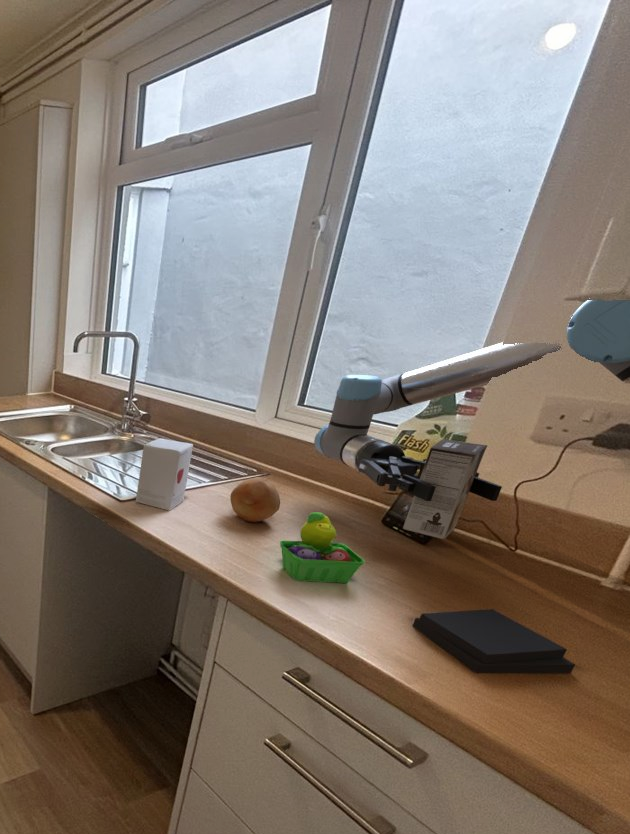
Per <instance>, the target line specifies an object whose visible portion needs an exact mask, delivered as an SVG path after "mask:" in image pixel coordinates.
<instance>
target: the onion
mask: <svg viewBox="0 0 630 834" xmlns="http://www.w3.org/2000/svg"><path fill="white" fill-rule="evenodd" d="M229 497H230V504H231V508H232V511H233V512H234V513H235V514H236V516H238V517H239V518H241V519H243V520H245V521H246V522H250V523H257V522H258V523H259V522H261V521H265V520H267V519H269V518H271V517H272V516H273V515H275V514H276V512H278V511H279V509H280V506H281V498H280V494H279V491H278V489H277V488H276V486H275V485H274V483H272V482H271V481H269V480H268V479H266V478H265V477H262V476H261V477H259V476H258V477H252V478H248V479H246V480H244V481H242V482H241V483H239V484H238V485H237V486H236V487H235V488H233V489H232V491H231V493H230V496H229Z"/></svg>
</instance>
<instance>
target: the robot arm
mask: <svg viewBox="0 0 630 834" xmlns="http://www.w3.org/2000/svg"><path fill="white" fill-rule="evenodd" d="M572 315H573V316H572ZM572 315H571V316H572V317H571V316H570V317H571V319H570V321H569V324H568V327H567V340H568V343H569V346H570V348H571V349H573V350H574V351H575V352H576V353H577V354H579V355H580V356H582V357H585V358H586V359H588V360H591V361H594V363H599V364H600V365H602V367H604V368H605V369H606V370H607V371H608V372H610V373H611V374H612V375H613V376H615V377H616V378H617V379H619V380H620V381H621V382H622V383H623V384H630V300H612V301H604V300H601V299H598V300H588V299H587V300H585V302H583V303H582V304H581V305H580V306H579V307H578V308H577V309H576V310H575V311H574V313H573V314H572ZM503 342H504V341H502V342H498V343H495V344H492V345H489V346H486V347H483V348H479V349H477V350H473V351H470V352H467V353H463V354H460V355H457V356H454V357H451V358H448V359H445V360H441V361H438V362H435V363H432V364H429V365H425V366H421V367H420V368H415V369H413V370H410V371H406V372H403V373H400V374H397V375H392V376H389V377H387V378H384V379H382V378H381V377H380V376H376V375H370V374H346V375H344V376H343V377H342V378H341V380H340V383H339V386H338V389H337V390H336V396H335V400H334V405H333V408H332V412H331V416H330V420H329V423H328V424H326V425H324V426H323V427H321V428H320V429H319V430H318V432H317V433H316V434H315V437H314V441H313V443H314V444H313V445H314V447H315V449H316V451H318V453H320V454H321V455H324V456H325V457H327V459H330V460H334V461H336V462H339V463H341V464H343V465H345V466H347V467H350V468H352V469H354V470H356V472H357V473H362V474H364V475H365V476H366V477H367V478H369V479H370V480H371V481H372V482H373V483H374V484H376V486H379V487H385V486H386V485H388V488H387V490H388V491H390V492H396V491H397V488H398V489H399V490H401V491H404V492H405V493H408V494H410V495H412V496H413V497H414V496H416V497H419V498H421V499H423V500H425V501H431V499H432V497H433V494H434V491H435V488H436V487H435V486H433V485H431V484H428V483H426V482H423V481H421V480H420V477H421V474H422V471H423V468H424V466H425V463H426V460H427V458H423V459H422V460H418V459H414V458H413V457H411V456H406V454H405V452H404V450H403V449H402V448H401V446H399V445H396V444H394V443H390V442H388V441H385V440H384V439H381V438H377V437H375V436H371V435H368V434H369V433H368V432H369V430H370V427H371V424H372V420H373V417H374V415H378V414H383V413H388V412H389V413H390V412H394V411H397V410H399V409H403V408H407V407H410V406H413V405H416V404H421V403H425V402H429V401H432V400H437V399H439V398H443V397H448V396H451V395H455V394H458V393H462V392H463V393H464V392H466V391H470V390H473V389H477V388H481V387H485V386H488V385H487V384H488V383H489V381H490V380H491V378H492V377H498V376H500V375H502V374H506V373H507V372H509V371H511V370H513V369H517V368H518V367H522V366H525V365H528V364H529V363H532V361H537V360H539V359H541V358H543V357H542V356H544V355H546V354H547V353H552V352H556V351H558V350H560V348H561V346H559V345H560V344H559V343H558V345H557V343H555V344H550V343H549V345H548V343H547V344H546V342H545V343H537V342H536V343H535V342H534V343H532V342H531V343H530V344H529V342H528V343H520V344H519V343H518V344H517V343H515V345H514V344H504V345H503ZM556 342H557V341H556ZM553 343H554V342H553ZM561 345H562V344H561ZM558 347H559V348H558ZM557 349H558V350H557ZM561 349H562V348H561ZM418 470H419V471H418ZM417 473H418V474H417ZM479 476H480V472H477V473H476V475H475V478H474V481H473V483H472V486H471V488H470V491H469V493H470V494H473V495H476V496H479V497H482V498H483V499H486V500H488V501H490V502H497V500H498V498H499V496H500V494H501V491H502V489H503V486H502V485H499V484H496V483H494V482H491V481H489V480H486V479H483V478H480V477H479Z"/></svg>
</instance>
